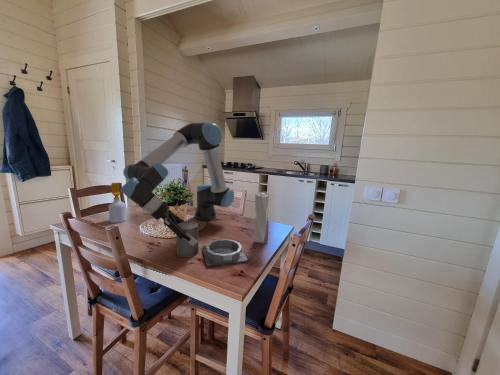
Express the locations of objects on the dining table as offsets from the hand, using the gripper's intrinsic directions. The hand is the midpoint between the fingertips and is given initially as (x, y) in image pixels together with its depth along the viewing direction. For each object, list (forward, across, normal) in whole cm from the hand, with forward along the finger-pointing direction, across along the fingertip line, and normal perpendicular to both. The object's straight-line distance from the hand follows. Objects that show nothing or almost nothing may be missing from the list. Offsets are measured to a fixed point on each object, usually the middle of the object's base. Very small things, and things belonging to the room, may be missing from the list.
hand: (194, 238), depth 99 cm
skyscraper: (+29, -4, +20) cm, 36 cm away
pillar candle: (+2, 0, -7) cm, 7 cm away
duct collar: (+14, +6, +5) cm, 16 cm away
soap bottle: (-26, -51, -35) cm, 67 cm away
